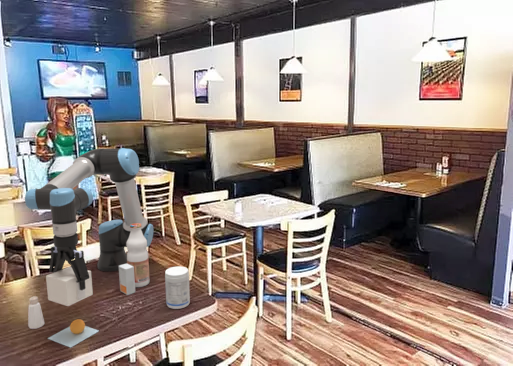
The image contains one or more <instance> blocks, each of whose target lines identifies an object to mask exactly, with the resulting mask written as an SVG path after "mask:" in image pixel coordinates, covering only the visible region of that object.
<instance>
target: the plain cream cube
mask: <svg viewBox="0 0 513 366" xmlns="http://www.w3.org/2000/svg"><path fill="white" fill-rule="evenodd" d="M87 270H88V269H87ZM88 274H89V279H87V280H85V287H86V288H85V296H86V297H84V298H82V299H80V300H78V299H77V287H76V281H78V280H77V278H76V276H75V273H74V271H73V269H72V267H71V265H70V266H68V267H66V268H62V270H60V271H57V272H55V273H52V272H51V273H50V274H47V275H46V276H45V280H46V289H47V290H46V291H47V300H48V301H51V302H53V303H56V304H60V305H62V306H67V307H70V306H72V305H74V304H76V303H78V302H80V301H82V300H84V299H86V298H89V297H91V296H93V294H94V293H93V292H94V291H93V279H92V271H91V270H88ZM80 278H81V277H80Z"/></svg>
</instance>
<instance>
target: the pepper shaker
mask: <svg viewBox="0 0 513 366" xmlns="http://www.w3.org/2000/svg"><path fill="white" fill-rule="evenodd" d="M28 300H29V304H28V316H27V317H28V319H27V320H28V321H27V323H28V324H27V326H28V328H29V329H31V330H34V329H36V330H37V329H39V328H42V327H43V326H44V325H45V319H44V315H43V311H42V307H41V302H39V297H38V296H36V295H35V296H31V297H30V298H29V299H28Z"/></svg>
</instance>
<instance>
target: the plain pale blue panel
mask: <svg viewBox="0 0 513 366" xmlns="http://www.w3.org/2000/svg"><path fill="white" fill-rule="evenodd" d="M99 332H100V330H99V329H96V328H92V327H90V326H87V325H85V328H84V330H83V331H82V332H81V333H79V334H74V333H72V332H71V330H70V326H68V327H65V328H64V329H62V330H60V331H58V332H57V333H55V334H53V335H51V336H49V337H47V340H50V341H53V342H55V343H57V344H60V345H62V346H65V347H68V348H70V349H71V348H73V347H75V346H76V345H77V344H80V343H81V342H83V341H84V340H86V339H88V338H90V337H92V336H93V335H95V334H97V333H99Z"/></svg>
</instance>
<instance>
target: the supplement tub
mask: <svg viewBox="0 0 513 366" xmlns="http://www.w3.org/2000/svg"><path fill="white" fill-rule="evenodd" d="M189 274H190V272H189V269H188V268H187V267H185V266H180V265H179V266H170V267H168V268H167V269H166V270H165V274H164V281H165V283H164V284H165V303H166V307H168V308H169V309H174V310H179V309H180V310H181V309H184V308H186V307H189V304H190V303H191V302H190V301H191V298H190V275H189Z"/></svg>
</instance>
